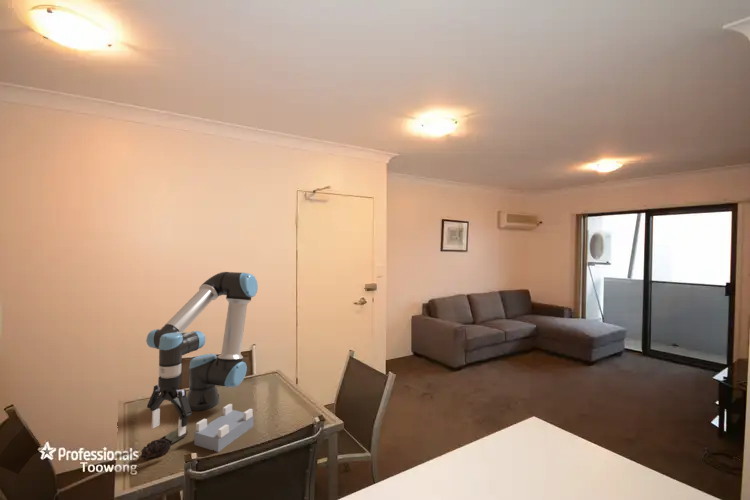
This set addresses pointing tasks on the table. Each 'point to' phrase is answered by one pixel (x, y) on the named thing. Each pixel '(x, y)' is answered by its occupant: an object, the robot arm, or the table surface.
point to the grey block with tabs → (223, 429)
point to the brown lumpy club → (161, 445)
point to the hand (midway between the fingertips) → (168, 430)
